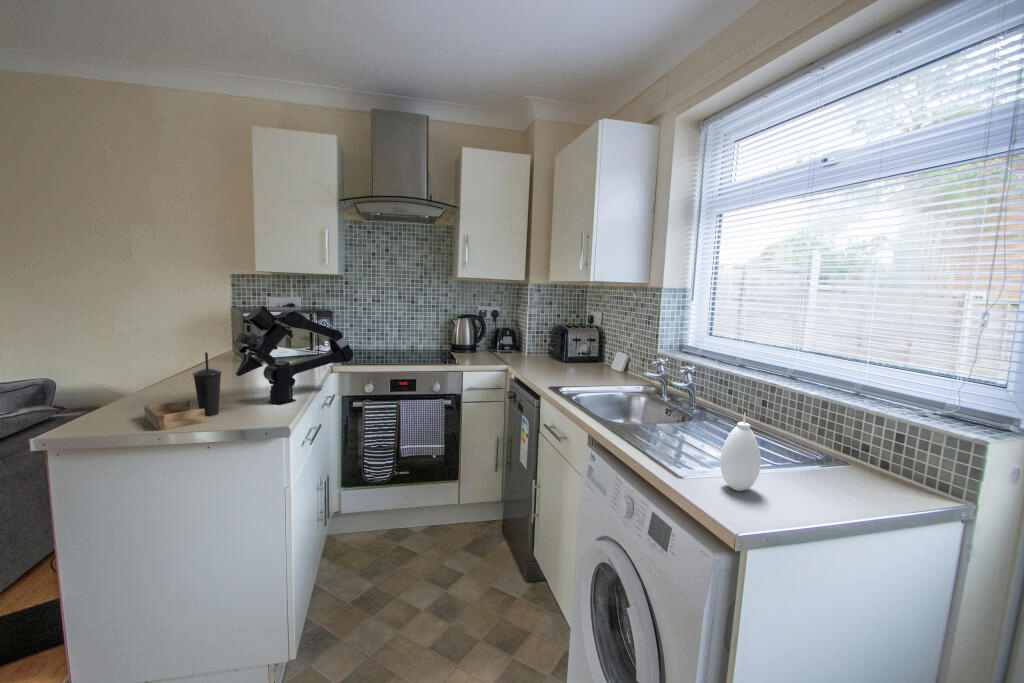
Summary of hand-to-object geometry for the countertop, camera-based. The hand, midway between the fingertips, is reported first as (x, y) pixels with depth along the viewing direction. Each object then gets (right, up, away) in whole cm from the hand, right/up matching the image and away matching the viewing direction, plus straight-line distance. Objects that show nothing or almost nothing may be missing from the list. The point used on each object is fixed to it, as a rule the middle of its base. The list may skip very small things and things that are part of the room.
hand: (237, 375), depth 148 cm
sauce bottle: (+142, -22, -46) cm, 151 cm away
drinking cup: (-6, -12, -5) cm, 14 cm away
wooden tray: (-11, -13, -11) cm, 20 cm away
